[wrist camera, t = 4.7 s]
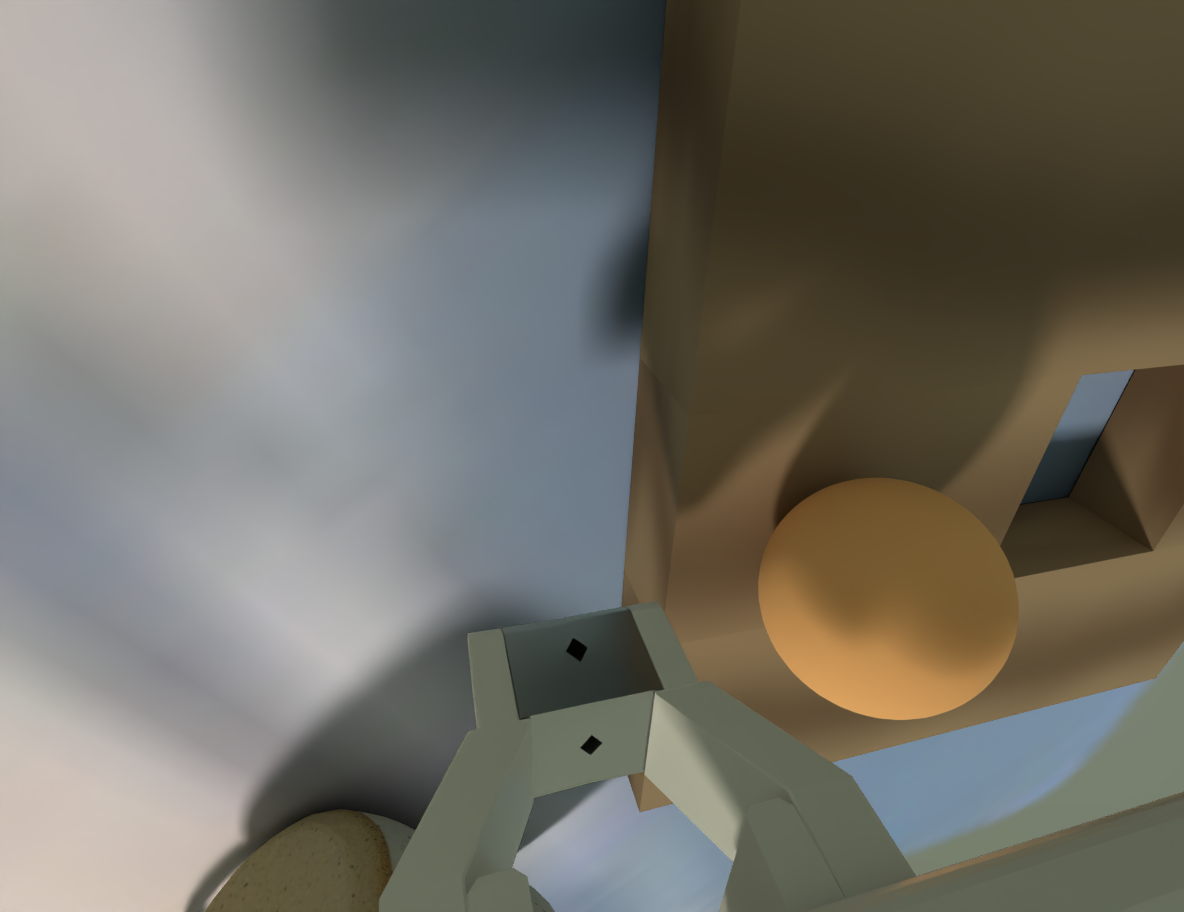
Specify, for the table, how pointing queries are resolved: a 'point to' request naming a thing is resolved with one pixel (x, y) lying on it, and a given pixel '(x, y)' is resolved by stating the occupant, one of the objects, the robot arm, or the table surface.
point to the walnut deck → (914, 321)
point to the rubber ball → (888, 598)
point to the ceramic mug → (324, 867)
